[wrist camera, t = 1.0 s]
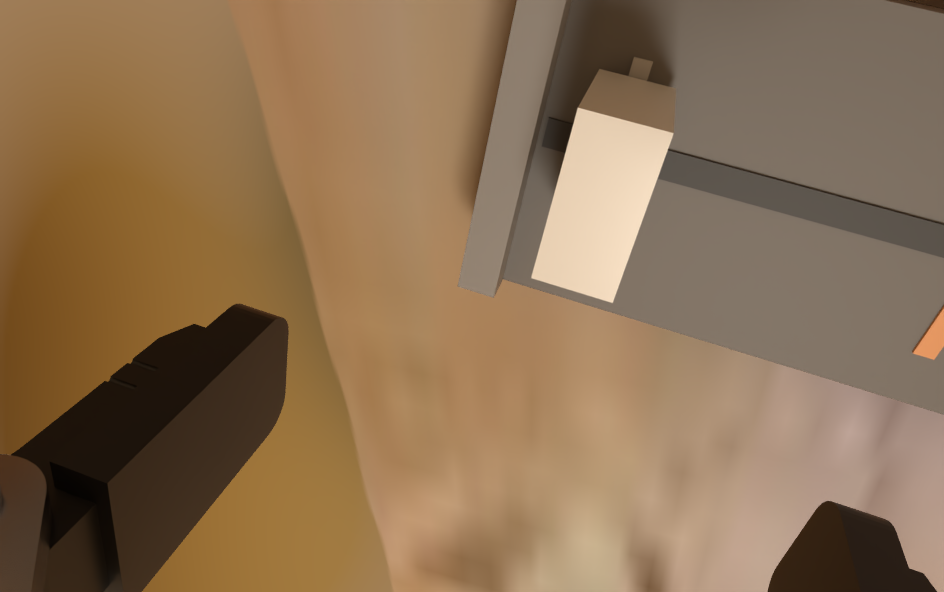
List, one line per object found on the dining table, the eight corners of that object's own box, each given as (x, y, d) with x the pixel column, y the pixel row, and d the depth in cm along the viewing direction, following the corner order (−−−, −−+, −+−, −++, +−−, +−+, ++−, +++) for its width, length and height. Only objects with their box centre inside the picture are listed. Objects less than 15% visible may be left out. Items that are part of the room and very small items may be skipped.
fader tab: (599, 68, 21) (578, 107, 16) (676, 88, 20) (673, 133, 16) (558, 212, 23) (530, 278, 19) (625, 232, 23) (612, 303, 19)
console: (559, -80, 22) (533, -78, 18) (1297, 90, 19) (1445, 132, 15) (487, 237, 28) (457, 286, 25) (1033, 401, 26) (1093, 485, 22)
